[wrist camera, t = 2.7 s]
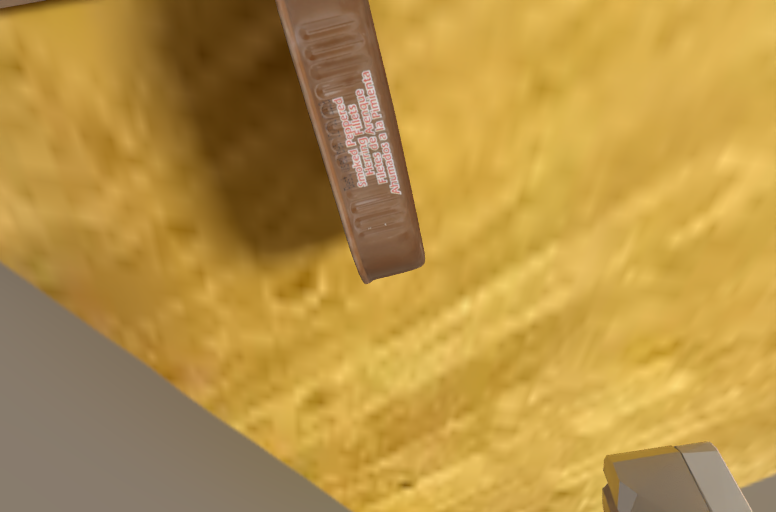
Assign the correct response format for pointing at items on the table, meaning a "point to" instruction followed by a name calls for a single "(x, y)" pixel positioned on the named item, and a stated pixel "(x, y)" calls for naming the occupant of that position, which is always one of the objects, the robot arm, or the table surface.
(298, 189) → the table surface
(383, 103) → the tin
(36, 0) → the buzz wire frame
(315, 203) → the table surface
